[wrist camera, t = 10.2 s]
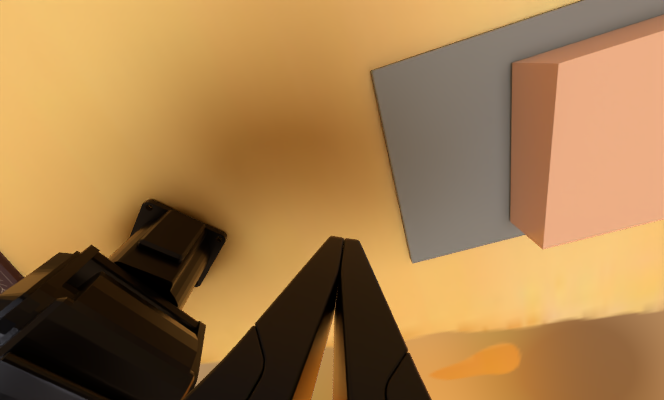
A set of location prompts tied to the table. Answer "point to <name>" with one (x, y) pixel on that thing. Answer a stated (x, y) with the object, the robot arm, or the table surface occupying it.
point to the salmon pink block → (589, 136)
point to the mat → (472, 123)
